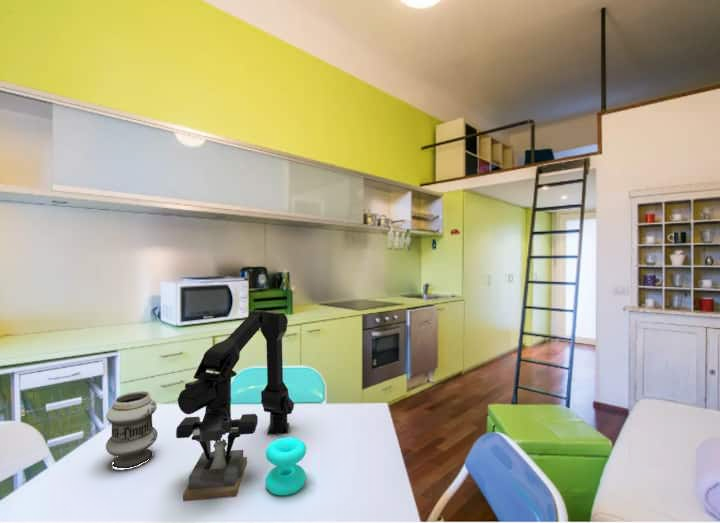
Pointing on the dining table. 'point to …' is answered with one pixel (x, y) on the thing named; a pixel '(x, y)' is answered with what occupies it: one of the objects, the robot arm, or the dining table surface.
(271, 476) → the donuts
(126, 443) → the apothecary jar
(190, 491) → the socket board
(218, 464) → the rook chess piece
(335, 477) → the dining table surface
